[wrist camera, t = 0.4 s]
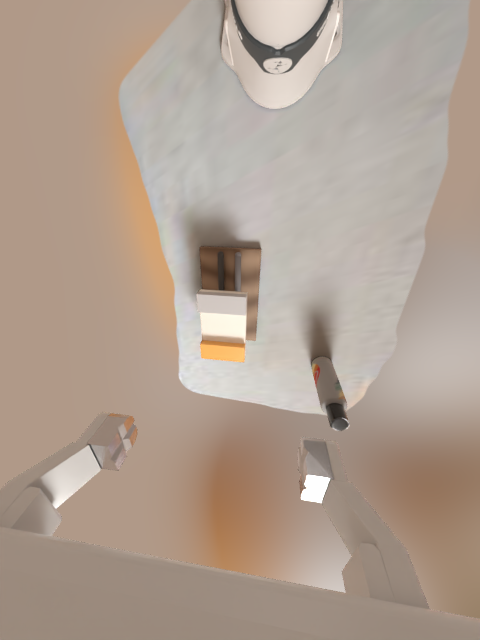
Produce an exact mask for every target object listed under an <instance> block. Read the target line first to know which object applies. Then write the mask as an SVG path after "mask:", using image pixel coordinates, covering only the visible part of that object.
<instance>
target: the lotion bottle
mask: <svg viewBox="0 0 480 640" xmlns="http://www.w3.org/2000/svg"><path fill="white" fill-rule="evenodd" d="M311 367H312V372H313V376H314V380H315V384H316V388H317V393H318V397H319V401H320V405H321V408H322V410H323V411H324V412H325V413H326V414H327V416H328V420H329V423H330V426H331V427H332V428H333V429H335V430H337V431H342V430H345V429H347V428H348V427H349V421H348V418H347V415H346V412H345V411H346V409H347V402H346V399H345V396H344V394H343V391H342V388H341V386H340V383H339V380H338V377H337V375H336V372H335V369H334V367H333V364H332V362H331V360H330V359H329V358H327V357H317V358H315V359H314V360H313V361H312V364H311Z"/></svg>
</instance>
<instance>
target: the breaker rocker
mask: <svg viewBox="0 0 480 640" xmlns="http://www.w3.org/2000/svg"><path fill="white" fill-rule="evenodd" d="M196 297H197V310H198V312H200V317H201V330H202V342H201V344H200V347H201V358H204V359H215V360H225V361H236V362H244V359H245V348H246V320H247V292H236V291H220V290H204V289H200V290H199V291H198V293H197V294H196Z"/></svg>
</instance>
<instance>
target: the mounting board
mask: <svg viewBox="0 0 480 640" xmlns="http://www.w3.org/2000/svg"><path fill="white" fill-rule="evenodd" d="M219 251H222V252H223V254H224V291H235V254H236V253H237V252H240V253H241V292H247V320H246V340H252V341H256V328H257V311H258V295H259V278H260V262H261V249H252V248H228V247H204V246H201V247H200V262H201V277H202V289H204V290H219V289H218V256H217V254H218V252H219Z"/></svg>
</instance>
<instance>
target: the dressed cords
mask: <svg viewBox="0 0 480 640" xmlns="http://www.w3.org/2000/svg"><path fill="white" fill-rule="evenodd" d="M217 256H218V289H219V290H220V291H224V254H223V252H222V251H219V252H218V254H217ZM235 291H236V292H241V253H240V252H237V253H236V254H235Z"/></svg>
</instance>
